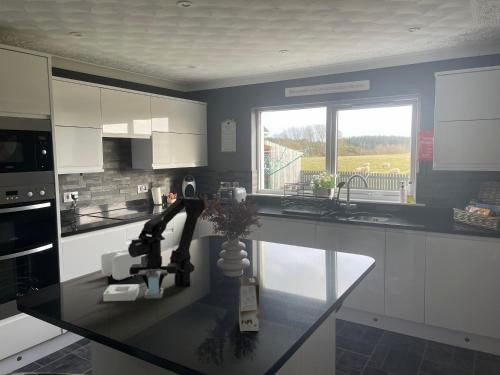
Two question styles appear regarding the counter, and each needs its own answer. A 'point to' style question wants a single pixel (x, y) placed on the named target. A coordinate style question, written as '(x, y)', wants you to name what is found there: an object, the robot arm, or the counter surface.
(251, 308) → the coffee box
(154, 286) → the plug
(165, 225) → the robot arm
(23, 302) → the counter surface
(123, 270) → the cable organizer
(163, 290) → the gray square frame
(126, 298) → the port panel
